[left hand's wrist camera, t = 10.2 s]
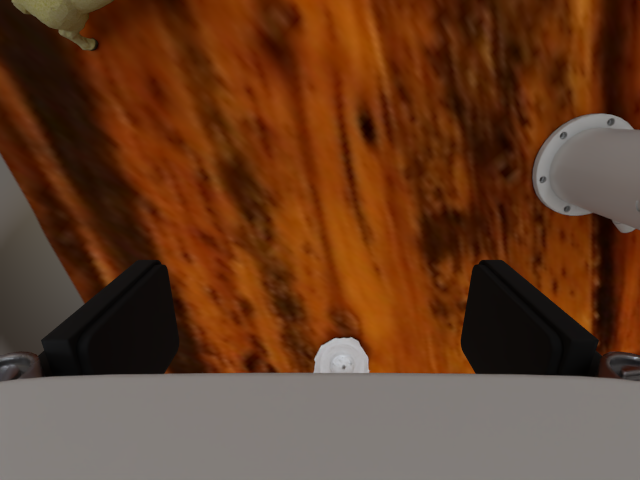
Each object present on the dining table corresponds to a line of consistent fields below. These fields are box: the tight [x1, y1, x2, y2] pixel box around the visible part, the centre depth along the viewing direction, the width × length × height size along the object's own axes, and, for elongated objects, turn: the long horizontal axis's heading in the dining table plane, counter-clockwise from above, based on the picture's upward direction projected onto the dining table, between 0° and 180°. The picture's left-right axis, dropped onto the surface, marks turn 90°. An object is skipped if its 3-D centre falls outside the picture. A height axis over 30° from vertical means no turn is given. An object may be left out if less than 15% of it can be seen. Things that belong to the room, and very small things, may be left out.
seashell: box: [314, 337, 369, 373], centre depth 53 cm, size 8×5×8 cm
